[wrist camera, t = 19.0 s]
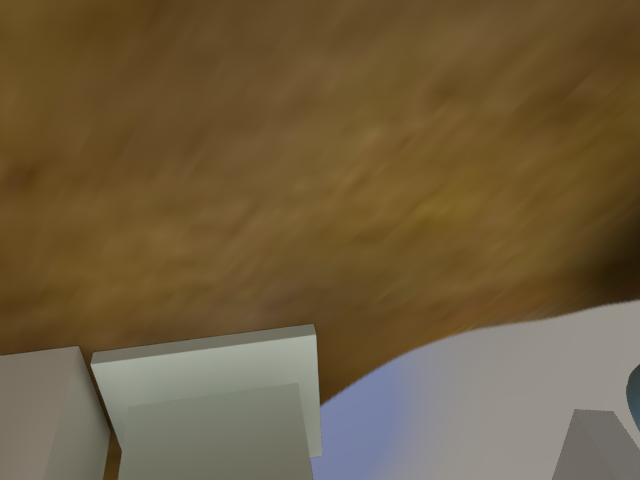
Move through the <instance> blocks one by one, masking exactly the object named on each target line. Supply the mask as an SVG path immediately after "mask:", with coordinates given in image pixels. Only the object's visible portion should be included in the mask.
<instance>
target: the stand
mask: <svg viewBox="0 0 640 480" xmlns="http://www.w3.org/2000/svg"><path fill="white" fill-rule="evenodd" d="M90 365H91V368H92V370H93V373H94V376H95V379H96V381H97V384H98V387H99V390H100V392H101V395H102V398H103V400H104V403H105V406H106V409H107V411H108V414H109V417H110V420H111V422H112V425H113V428H114V431H115V433H116V436H117V439H118V442H119V444H120V447H121V450H122V456H121V462H120V469H119V476H118V480H313V474H312V468H311V462H310V458H313V457H320V456H322V440H321V439H322V438H321V421H320V401H319V382H318V363H317V344H316V332H315V328H314V324H307V325H299V326H292V327H284V328H276V329H269V330H261V331H253V332H246V333H238V334H230V335H223V336H215V337H207V338H200V339H192V340H184V341H177V342H169V343H161V344H154V345H146V346H138V347H131V348H123V349H115V350H108V351H100V352H93V356H92V360H91V364H90Z"/></svg>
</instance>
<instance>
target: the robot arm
mask: <svg viewBox="0 0 640 480" xmlns="http://www.w3.org/2000/svg"><path fill="white" fill-rule="evenodd" d="M626 395H627V402H628V405H629V409H630V412H631V415H632V417H633V419H634V421H635V423H636V426H637V428H638V430H639V431H640V365H638V366H637V367H636V368H635V369H634V370H633V371H632V373H631V374H630V376H629V381H628V384H627V387H626ZM552 480H640V450H639V448H638V447H637V445H636V444H635V442H634V441H633V439H632V438H631V437H630V435H629V434H628V432H627V431H626V429H625V428H624V427H623V425H622V424H621V422H620V421H619V419H618V418H617V416H616V415H615V414H614V412H613V411H595V410H578V409H577V410H576V409H575V410H574V413H573V416H572V419H571V422H570V426H569V429H568V432H567V435H566V438H565V441H564V444H563V447H562V450H561V454H560V457H559V460H558V463H557V466H556V469H555V472H554V475H553V478H552Z"/></svg>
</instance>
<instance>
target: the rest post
mask: <svg viewBox="0 0 640 480" xmlns="http://www.w3.org/2000/svg"><path fill="white" fill-rule="evenodd" d="M110 434H111V431H110V429H109V426H108V423H107V421H106V418H105V415H104V413H103V410H102V407H101V404H100V402H99V399H98V396H97V394H96V391H95V388H94V386H93V383H92V380H91V378H90V375H89V372H88V369H87V367H86V364H85V361H84V359H83V356H82V353H81V351H80V348H79V346H73V347H65V348H58V349H50V350H42V351H34V352H27V353H19V354H11V355H3V356H0V480H103V475H104V469H105V463H106V457H107V452H108V446H109V440H110Z"/></svg>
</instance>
